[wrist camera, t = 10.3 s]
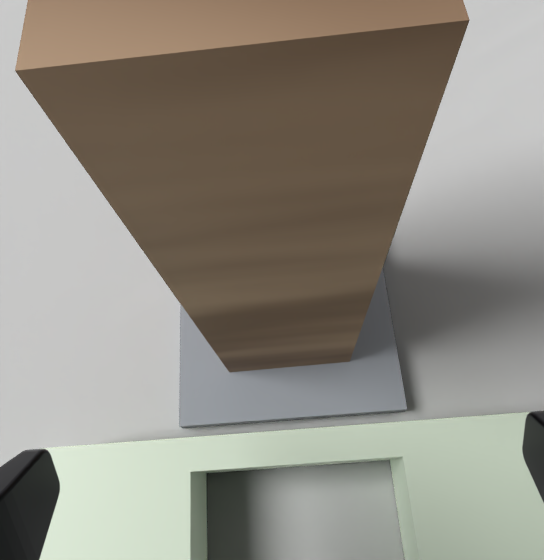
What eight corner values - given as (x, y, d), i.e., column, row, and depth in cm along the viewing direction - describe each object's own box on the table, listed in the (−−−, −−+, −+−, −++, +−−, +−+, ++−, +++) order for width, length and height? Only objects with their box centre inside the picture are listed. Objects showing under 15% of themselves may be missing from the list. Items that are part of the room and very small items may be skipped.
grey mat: (403, 411, 17) (407, 409, 17) (183, 428, 17) (179, 426, 17) (371, 218, 20) (373, 210, 20) (184, 234, 21) (181, 228, 20)
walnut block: (349, 361, 17) (469, 20, 5) (229, 372, 18) (15, 70, 5) (334, 253, 19) (389, -217, 6) (225, 263, 19) (60, -175, 6)
